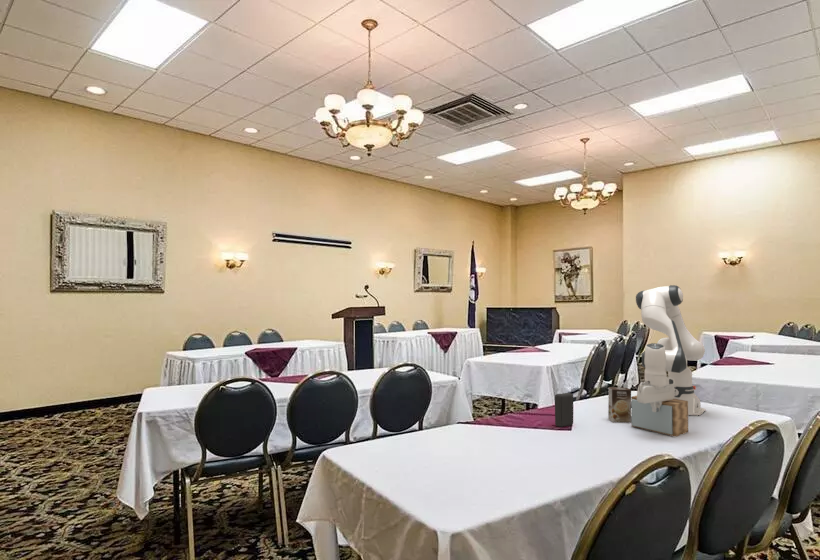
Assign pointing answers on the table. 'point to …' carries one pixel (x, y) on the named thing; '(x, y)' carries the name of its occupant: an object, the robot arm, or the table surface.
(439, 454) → the table surface
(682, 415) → the cabinet
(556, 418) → the card reader
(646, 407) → the door
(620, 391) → the coffee box
